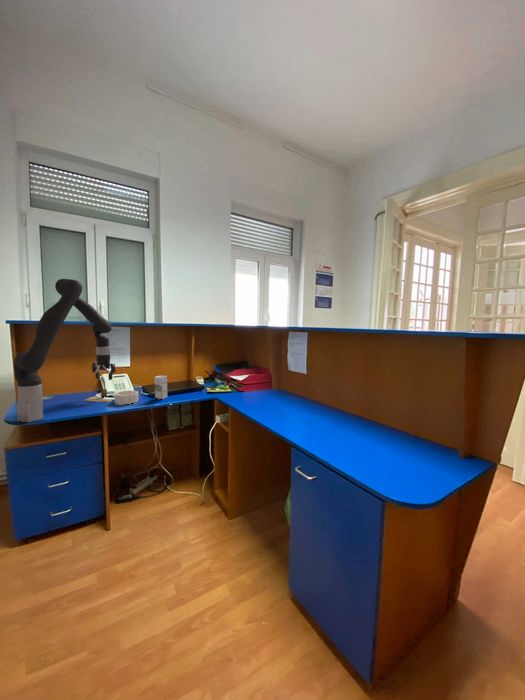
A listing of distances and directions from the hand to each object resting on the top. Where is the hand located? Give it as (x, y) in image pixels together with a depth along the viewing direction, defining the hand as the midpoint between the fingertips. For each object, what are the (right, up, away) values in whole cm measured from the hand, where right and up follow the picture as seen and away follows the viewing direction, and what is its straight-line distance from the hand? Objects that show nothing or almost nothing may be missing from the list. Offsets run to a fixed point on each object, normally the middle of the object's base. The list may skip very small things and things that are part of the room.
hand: (104, 379), depth 183 cm
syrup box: (+34, -13, +4) cm, 37 cm away
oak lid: (0, -13, +1) cm, 13 cm away
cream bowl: (+17, -13, -5) cm, 22 cm away
